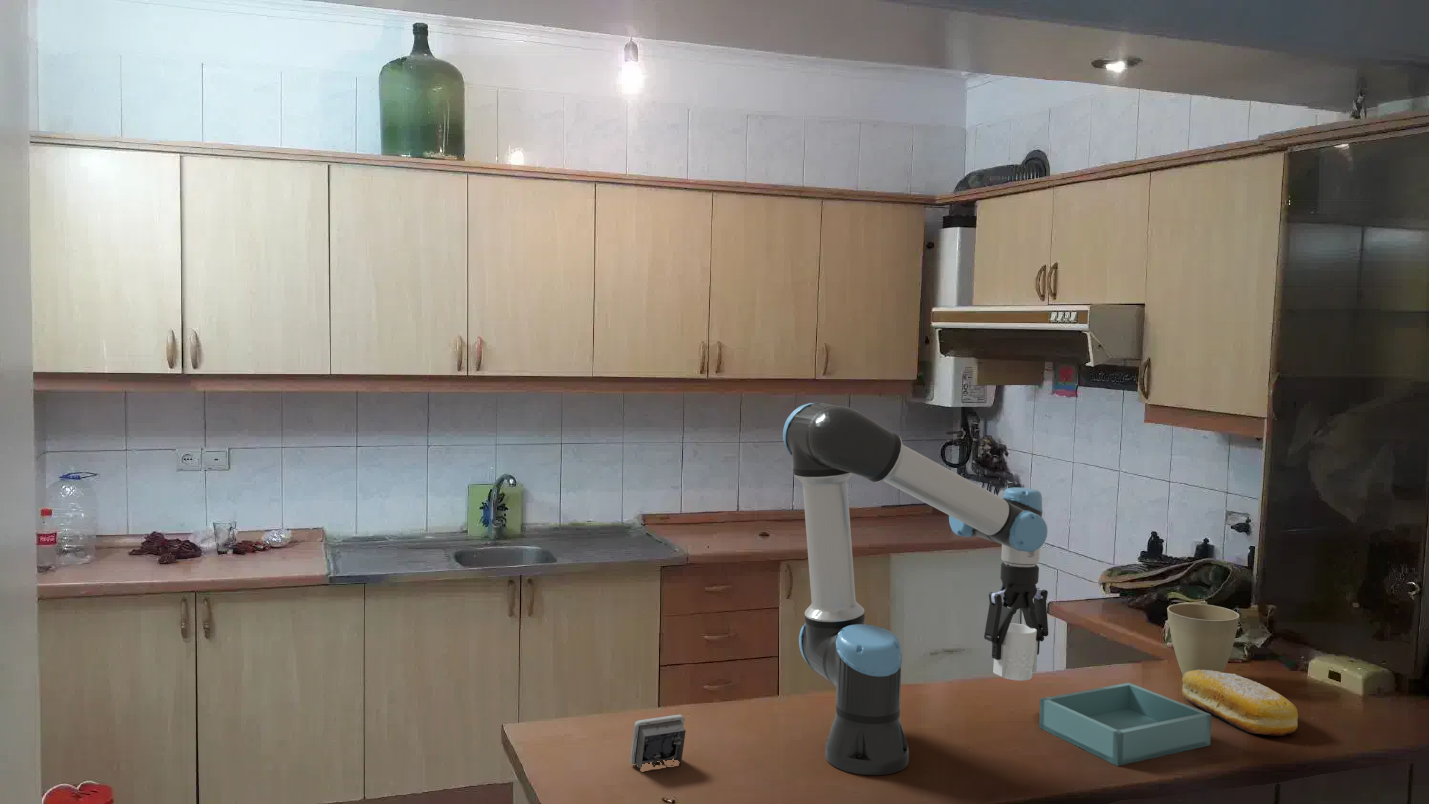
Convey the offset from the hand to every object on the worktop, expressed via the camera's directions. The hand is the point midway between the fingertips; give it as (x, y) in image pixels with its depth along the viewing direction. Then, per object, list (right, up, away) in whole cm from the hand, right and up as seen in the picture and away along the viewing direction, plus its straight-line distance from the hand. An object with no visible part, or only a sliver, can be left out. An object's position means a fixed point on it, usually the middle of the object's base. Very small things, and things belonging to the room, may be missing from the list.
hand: (1014, 672), depth 212 cm
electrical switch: (-72, -10, -29) cm, 78 cm away
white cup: (0, -1, 0) cm, 1 cm away
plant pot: (+49, -8, +22) cm, 54 cm away
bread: (+46, -9, 0) cm, 47 cm away
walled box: (+18, -9, -12) cm, 23 cm away
